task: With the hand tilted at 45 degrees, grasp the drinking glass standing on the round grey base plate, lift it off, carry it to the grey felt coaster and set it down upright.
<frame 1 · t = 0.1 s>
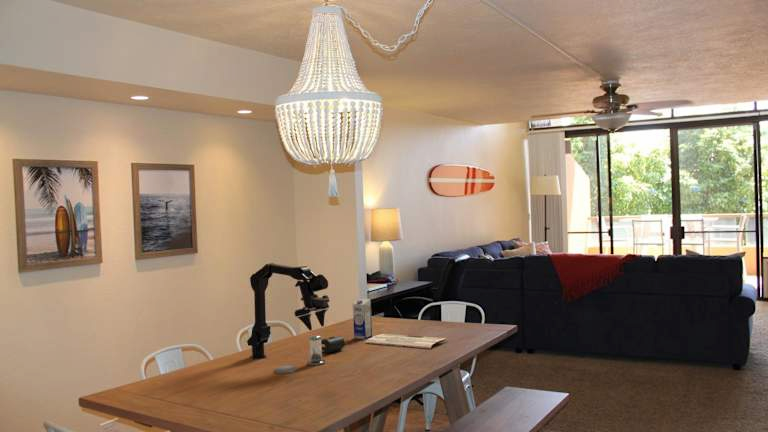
hand: (316, 328, 300), 15 cm above the table, tool pointing down, fingers open, 9 cm apart
drinking glass: (316, 356, 299), point 3 cm above the table, touching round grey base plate
coaster: (285, 370, 288), on the table
newspaper: (405, 344, 333), on the table
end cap: (332, 352, 321), on the table
milk carton: (363, 338, 351), on the table
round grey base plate: (316, 363, 299), on the table
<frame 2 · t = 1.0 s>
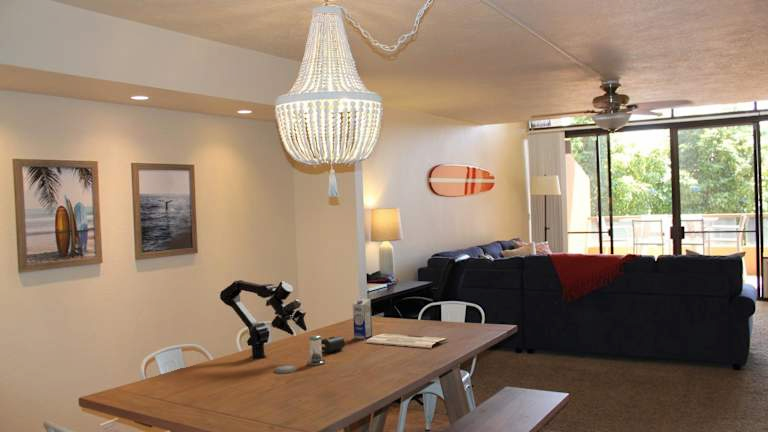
hand: (299, 332, 303), 13 cm above the table, tool tilted 45°, fingers open, 9 cm apart
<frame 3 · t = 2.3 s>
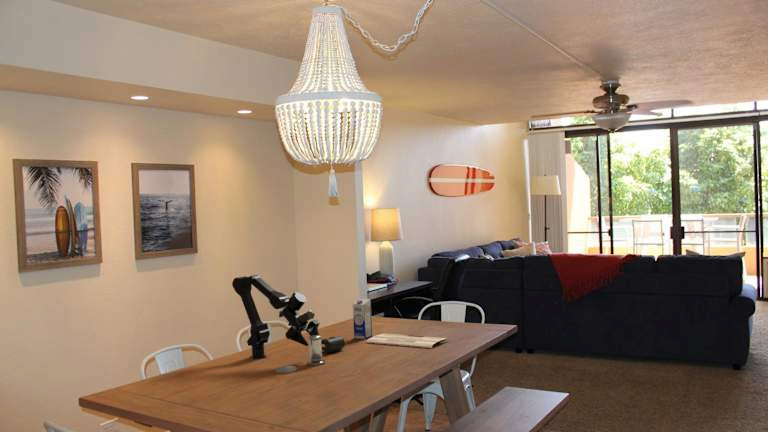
hand: (314, 343, 299), 9 cm above the table, tool tilted 45°, fingers open, 9 cm apart
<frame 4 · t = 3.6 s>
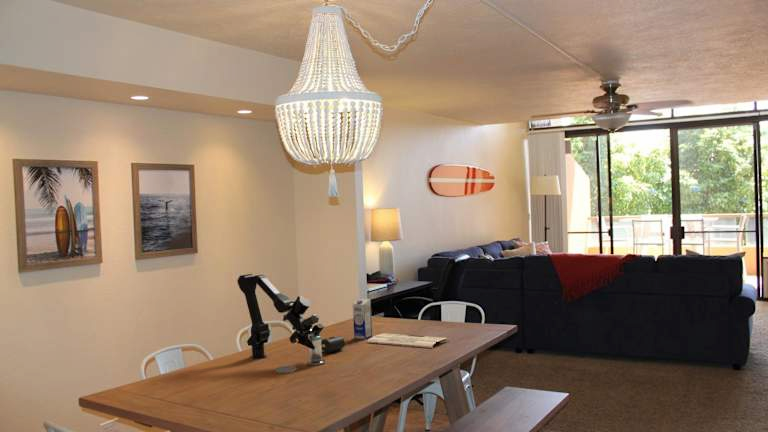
hand: (318, 347, 298), 7 cm above the table, tool tilted 45°, fingers closed on drinking glass, 5 cm apart
drinking glass: (316, 356, 299), point 3 cm above the table, touching gripper, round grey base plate
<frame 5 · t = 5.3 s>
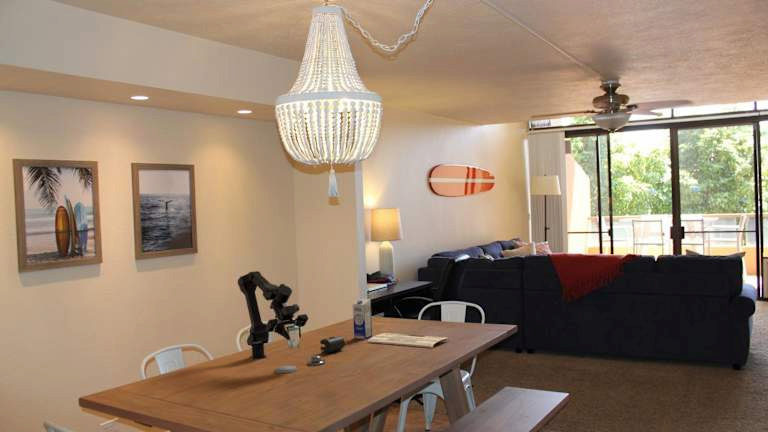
hand: (294, 338, 289), 13 cm above the table, tool tilted 45°, fingers closed on drinking glass, 5 cm apart
drinking glass: (293, 347, 290), point 9 cm above the table, touching gripper
when the fingers open (6 cm above the table, at t = 7.3 s): drinking glass drops 1 cm, resting on coaster.
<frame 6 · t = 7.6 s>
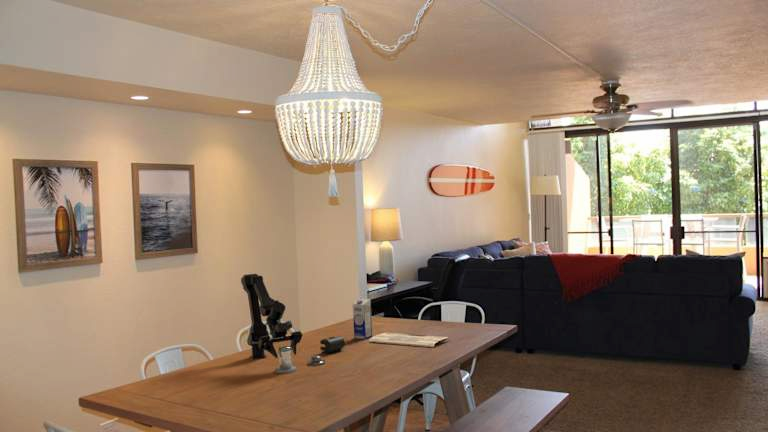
hand: (286, 356, 287), 7 cm above the table, tool tilted 45°, fingers open, 8 cm apart
drinking glass: (285, 368, 288), point 1 cm above the table, touching coaster
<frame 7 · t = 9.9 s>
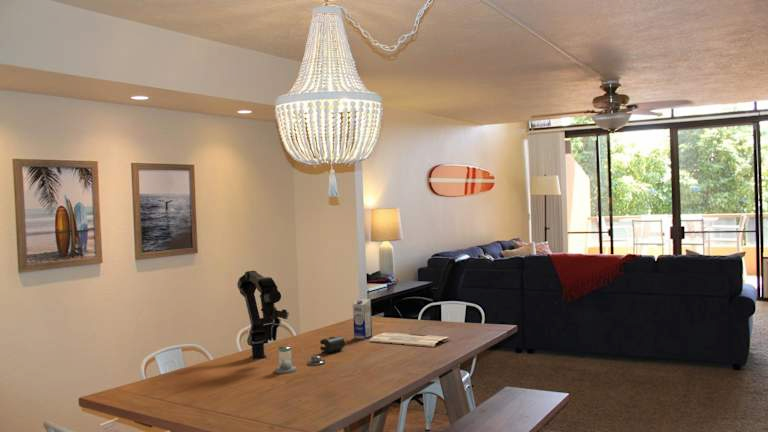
hand: (272, 340, 300), 11 cm above the table, tool pointing down, fingers open, 9 cm apart
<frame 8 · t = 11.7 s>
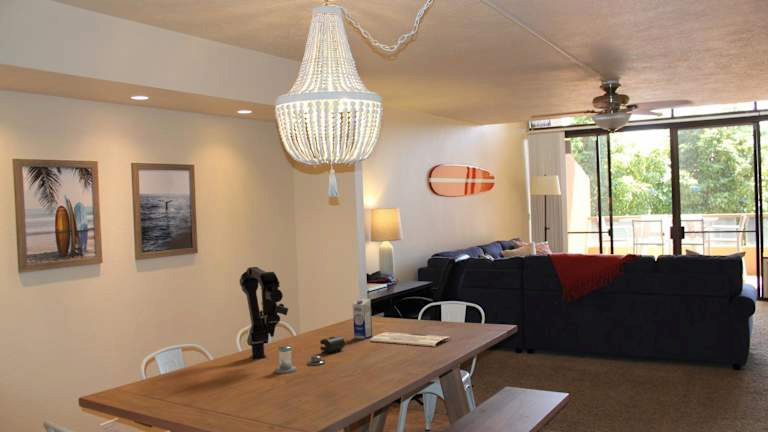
hand: (270, 335, 302), 13 cm above the table, tool pointing down, fingers open, 9 cm apart
at the end: drinking glass 0.0 cm from the coaster (horizontally); drinking glass tilted 0°; drinking glass point 1.0 cm above the table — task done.
